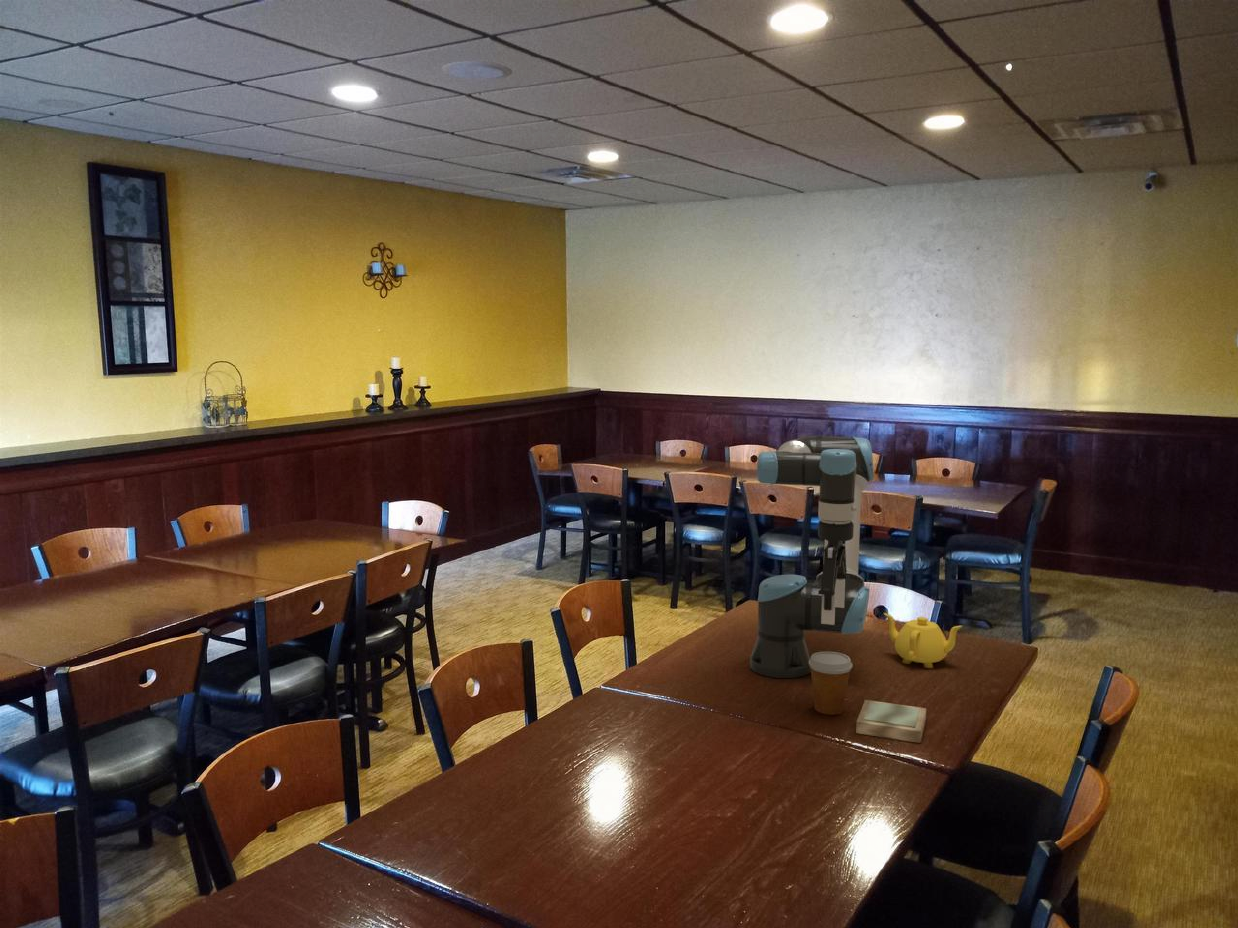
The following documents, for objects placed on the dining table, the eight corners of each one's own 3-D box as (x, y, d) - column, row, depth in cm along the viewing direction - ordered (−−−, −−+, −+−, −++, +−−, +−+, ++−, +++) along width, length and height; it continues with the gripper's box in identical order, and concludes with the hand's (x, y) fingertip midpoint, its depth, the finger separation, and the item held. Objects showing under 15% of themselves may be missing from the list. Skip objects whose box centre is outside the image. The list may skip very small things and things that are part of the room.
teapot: (871, 662, 239) (873, 619, 238) (890, 647, 252) (891, 605, 250) (951, 678, 228) (954, 633, 227) (967, 661, 241) (969, 618, 239)
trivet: (856, 732, 197) (856, 720, 197) (864, 710, 209) (865, 698, 208) (920, 742, 192) (921, 729, 192) (925, 719, 204) (926, 707, 204)
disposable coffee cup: (851, 719, 204) (853, 666, 202) (807, 716, 206) (808, 663, 204) (850, 702, 213) (851, 652, 211) (807, 699, 215) (808, 649, 213)
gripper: (844, 532, 191) (841, 633, 194) (861, 511, 214) (858, 602, 217) (808, 530, 194) (805, 629, 196) (828, 509, 217) (825, 598, 219)
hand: (833, 615), depth 207 cm, fingers open, 13 cm apart
